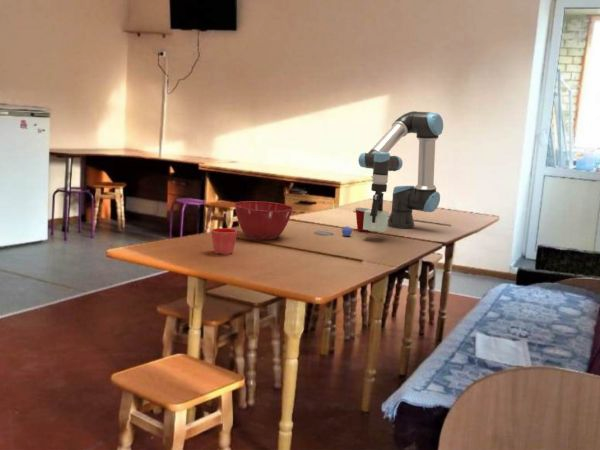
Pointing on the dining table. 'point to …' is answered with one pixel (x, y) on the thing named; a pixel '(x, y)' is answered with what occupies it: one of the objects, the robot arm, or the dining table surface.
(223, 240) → the flower pot
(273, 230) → the mixing bowl
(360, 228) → the plastic cup
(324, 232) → the grey spot
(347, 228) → the ball
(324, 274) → the dining table surface
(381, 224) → the pale green brick
